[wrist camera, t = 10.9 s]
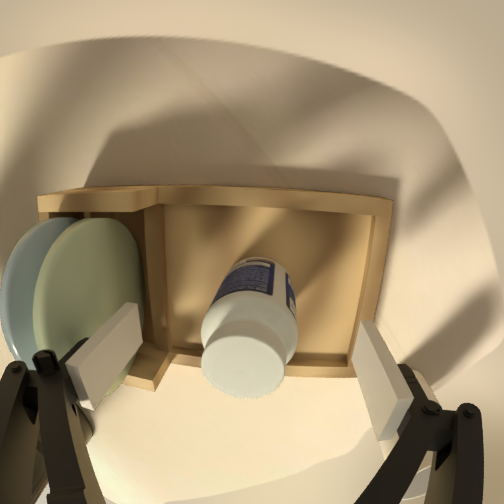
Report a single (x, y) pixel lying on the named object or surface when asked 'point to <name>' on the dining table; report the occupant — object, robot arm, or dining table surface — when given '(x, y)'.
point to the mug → (423, 473)
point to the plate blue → (26, 286)
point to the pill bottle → (250, 329)
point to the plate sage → (87, 285)
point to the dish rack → (239, 248)
